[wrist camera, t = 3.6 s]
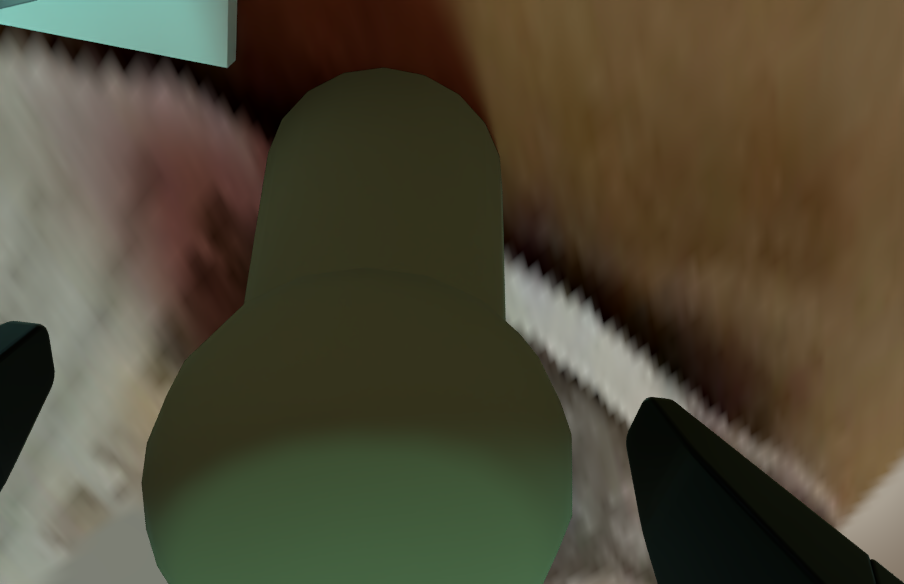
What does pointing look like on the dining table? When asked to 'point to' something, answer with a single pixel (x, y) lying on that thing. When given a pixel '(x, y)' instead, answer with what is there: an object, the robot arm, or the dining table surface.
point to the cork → (366, 369)
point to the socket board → (137, 25)
